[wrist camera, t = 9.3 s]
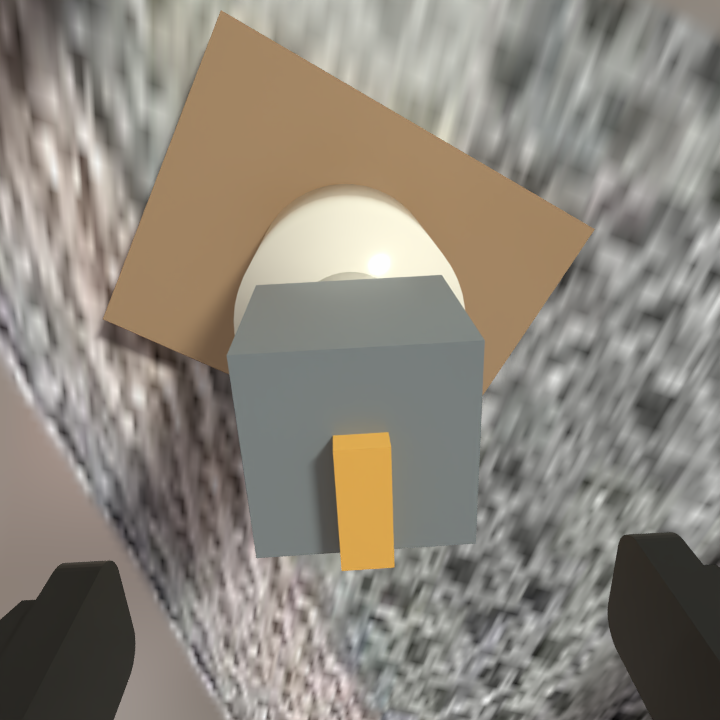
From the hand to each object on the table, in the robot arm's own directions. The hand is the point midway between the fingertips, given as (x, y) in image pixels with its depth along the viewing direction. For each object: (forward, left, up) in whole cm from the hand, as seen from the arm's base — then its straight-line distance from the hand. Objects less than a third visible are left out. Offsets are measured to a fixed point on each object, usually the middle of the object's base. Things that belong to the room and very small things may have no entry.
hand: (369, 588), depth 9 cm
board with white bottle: (0, 0, -20) cm, 20 cm away
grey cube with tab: (0, 0, -9) cm, 9 cm away
